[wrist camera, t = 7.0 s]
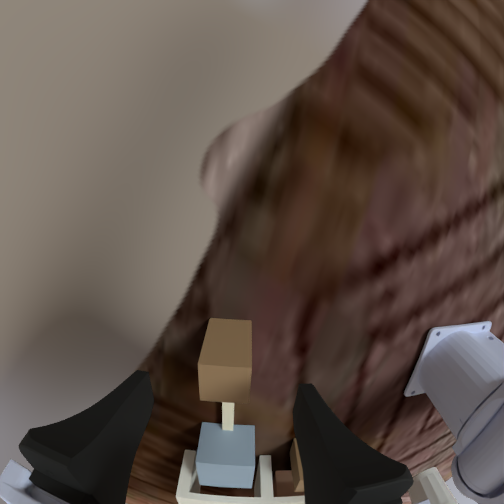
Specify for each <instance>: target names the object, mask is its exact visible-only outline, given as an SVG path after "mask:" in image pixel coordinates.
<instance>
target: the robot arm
mask: <svg viewBox="0 0 504 504" xmlns="http://www.w3.org/2000/svg"><path fill="white" fill-rule="evenodd" d="M490 328H491V322H490V321H485V322H478V323H471V324H463V325H454V326H445V327H435V328H432V329H431V330H430V331H429V333H428V335H427V338H426V341H425V344H424V346H423V349H422V352H421V354H420V357H419V359H418V362H417V364H416V366H415V369H414V371H413V374H412V376H411V378H410V380H409V383H408V385H407V387H406V389H405V391H404V395H405V396H406V397H408V396H413V395H418V394H423V393H426V394H427V396H428V397H429V399H430V400H431V402H432V403H433V405H434V406H435V408H436V409H437V410H438V412H439V414H440V415H441V417H442V418H443V420H444V421H445V423H446V424H447V426H448V427H449V429H450V430H451V432H452V434H453V435H454V437H455V438H456V440H457V442H456V443H455V444H454V445H453V446H452V448H453V450H454V452H455V453H456V456H455V457H454V459H453V461H452V467H451V470H452V477H453V481H454V483H455V485H456V487H457V489H458V490H459V491H460V492H461V493H462V494H463V495H465V496H466V497H468V498H471V499H473V500H474V501H476V502H477V503H478V504H504V343H503V342H502V341H500V340H499V339H498V338H497V337H496V336H494V335H493V334H492V333H491V332H490V331H489V330H490ZM437 332H438V333H437ZM153 404H154V397H153V392H152V387H151V382H150V377H149V372H145V371H140V370H137V371H135V372H134V373H133V374H132V375H131V376H130V377H128V378H127V379H126V380H125V381H124V382H123V383H122V384H120V385H119V386H118V387H117V388H116V389H114V391H112V392H111V393H109V394H108V395H107V396H106V397H104V398H103V399H102V400H100V401H99V402H97V403H96V404H95V405H93V406H91V407H90V408H88V409H86V410H84V411H82V412H81V413H79V414H76V415H74V416H72V417H70V418H67V419H65V420H63V421H60V422H57V423H54V424H50V425H47V426H42V427H38V428H32V429H30V430H29V431H28V433H27V434H26V435H25V437H24V438H23V440H22V441H21V443H20V444H19V449H20V452H21V453H22V454H23V456H24V457H25V458H26V459H27V461H28V462H29V463H30V464H31V465H32V467H33V468H34V470H33V472H31V471H29V470H28V469H27V468H25V467H24V466H22V465H20V464H19V463H17V462H16V461H14V460H12V459H11V460H10V461H9V463H8V464H7V466H6V468H5V469H4V471H3V473H2V474H1V476H0V498H2V499H3V500H4V501H5V502H6V503H7V504H125V501H126V494H127V488H128V483H129V478H130V473H131V469H132V465H133V461H134V457H135V454H136V451H137V448H138V446H139V443H140V441H141V438H142V436H143V433H144V431H145V429H146V426H147V424H148V421H149V419H150V415H151V412H152V408H153ZM293 421H294V431H295V436H296V441H297V445H298V450H299V455H300V459H301V464H302V470H303V481H304V496H305V504H402V499H401V496H402V495H403V494H405V493H406V492H407V491H408V490H409V489H410V487H411V486H412V485H413V482H414V480H413V478H412V475H411V473H410V471H409V469H408V468H407V466H406V465H404V464H402V463H400V462H397V461H395V460H393V459H390V458H388V457H387V456H385V455H383V454H381V453H379V452H378V451H376V450H375V449H373V448H372V447H370V446H369V445H367V444H366V443H364V442H363V441H362V440H360V439H359V438H358V437H357V436H356V435H354V434H353V433H352V432H351V431H350V430H349V429H348V428H347V427H346V426H345V425H344V424H343V423H342V422H341V421H340V420H339V419H338V417H337V416H336V415H335V414H334V413H333V412H332V410H331V409H330V408H329V407H328V405H327V404H326V403H325V401H324V400H323V399H322V397H321V396H320V394H319V393H318V391H317V390H316V388H315V387H314V385H313V384H299V387H298V392H297V396H296V400H295V405H294V409H293ZM416 504H431V503H430V501H429V499H426V500H424V501H421V502H418V503H416Z"/></svg>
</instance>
